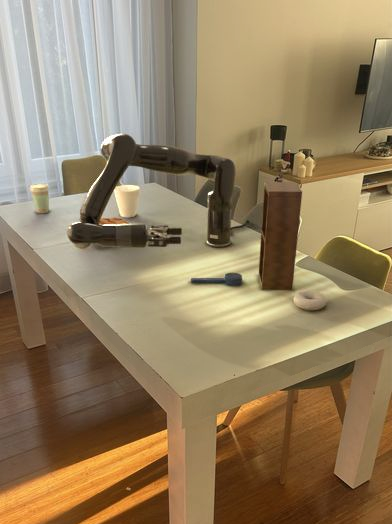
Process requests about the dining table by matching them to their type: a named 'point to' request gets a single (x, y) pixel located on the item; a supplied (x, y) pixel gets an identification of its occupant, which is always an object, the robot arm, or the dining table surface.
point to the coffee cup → (40, 197)
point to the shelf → (279, 235)
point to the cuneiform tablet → (112, 221)
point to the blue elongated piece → (221, 280)
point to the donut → (309, 300)
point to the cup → (127, 199)
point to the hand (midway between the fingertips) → (181, 235)
